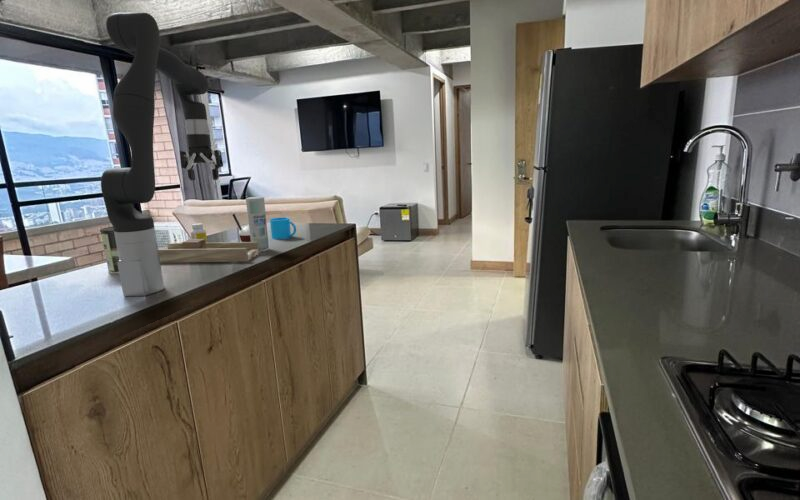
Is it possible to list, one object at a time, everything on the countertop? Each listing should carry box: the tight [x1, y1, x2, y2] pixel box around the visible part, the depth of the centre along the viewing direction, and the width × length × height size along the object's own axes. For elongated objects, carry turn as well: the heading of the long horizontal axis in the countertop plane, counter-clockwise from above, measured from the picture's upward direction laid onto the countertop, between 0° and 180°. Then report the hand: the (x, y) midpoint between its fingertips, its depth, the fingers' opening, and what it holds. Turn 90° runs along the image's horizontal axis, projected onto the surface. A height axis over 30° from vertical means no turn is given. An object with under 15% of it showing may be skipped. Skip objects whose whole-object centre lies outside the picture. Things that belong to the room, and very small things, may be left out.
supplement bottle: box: [190, 223, 208, 243], centre depth 166 cm, size 5×5×10 cm
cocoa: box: [232, 213, 251, 242], centre depth 175 cm, size 10×6×12 cm, turn 69°
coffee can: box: [99, 226, 120, 275], centre depth 137 cm, size 10×10×14 cm
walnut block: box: [181, 238, 207, 249], centre depth 150 cm, size 6×6×4 cm
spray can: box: [245, 196, 270, 253], centre depth 159 cm, size 6×6×20 cm
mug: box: [269, 217, 297, 240], centre depth 183 cm, size 12×8×8 cm
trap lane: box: [158, 241, 260, 264], centre depth 150 cm, size 11×34×4 cm, turn 87°
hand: (204, 180), depth 152 cm, fingers open, 8 cm apart
